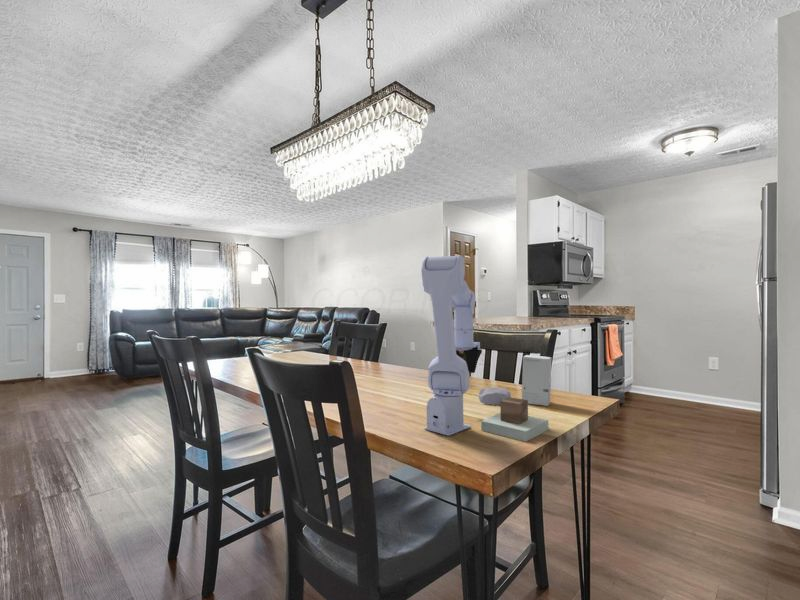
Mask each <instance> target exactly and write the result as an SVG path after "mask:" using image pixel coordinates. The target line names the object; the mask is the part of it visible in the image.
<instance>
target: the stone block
mask: <svg viewBox="0 0 800 600" xmlns="http://www.w3.org/2000/svg"><path fill="white" fill-rule="evenodd" d="M511 396H512V395H511V391H509V390H508V387H497V386H495V387H493V386H492V387H490V386H489V387H487V388H482V389H479V392H478V398H479V402H480V403H481V402H482V403H481V404H483V403H484V404H483V405H485V404H500V401H501V400H504V399H506V398H509V397H511Z"/></svg>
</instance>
